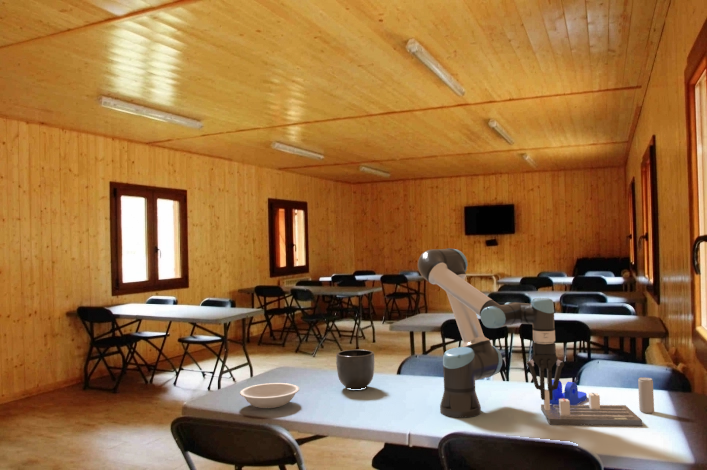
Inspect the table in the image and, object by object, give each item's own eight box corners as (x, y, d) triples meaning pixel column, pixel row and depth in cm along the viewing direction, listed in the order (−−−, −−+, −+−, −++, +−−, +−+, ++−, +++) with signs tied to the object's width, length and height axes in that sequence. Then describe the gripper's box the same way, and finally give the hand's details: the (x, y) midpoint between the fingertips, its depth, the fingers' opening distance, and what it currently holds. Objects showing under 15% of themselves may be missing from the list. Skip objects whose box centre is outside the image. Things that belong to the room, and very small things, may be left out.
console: (549, 424, 198) (549, 417, 198) (541, 409, 216) (540, 402, 216) (642, 426, 193) (642, 418, 193) (625, 410, 211) (625, 403, 211)
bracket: (570, 408, 217) (569, 384, 217) (549, 404, 223) (548, 381, 223) (590, 398, 230) (589, 375, 230) (570, 394, 236) (569, 372, 236)
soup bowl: (228, 408, 232) (227, 391, 233) (274, 395, 250) (274, 380, 250) (265, 418, 216) (264, 401, 216) (312, 404, 234) (311, 388, 234)
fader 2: (591, 409, 207) (590, 395, 207) (589, 407, 210) (588, 392, 210) (600, 409, 206) (599, 395, 206) (597, 407, 209) (597, 392, 209)
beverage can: (648, 414, 206) (647, 381, 206) (636, 411, 210) (635, 378, 210) (657, 412, 208) (655, 379, 208) (645, 409, 212) (643, 376, 212)
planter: (375, 393, 248) (374, 355, 248) (336, 394, 248) (335, 357, 249) (375, 383, 265) (373, 348, 266) (337, 384, 266) (336, 349, 266)
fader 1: (561, 415, 201) (560, 400, 201) (559, 413, 204) (558, 398, 204) (570, 415, 200) (569, 400, 200) (568, 413, 203) (567, 398, 203)
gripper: (526, 344, 201) (529, 411, 200) (565, 343, 199) (568, 412, 198) (523, 340, 208) (526, 405, 208) (561, 340, 206) (564, 406, 206)
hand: (547, 408), depth 203 cm, fingers closed
